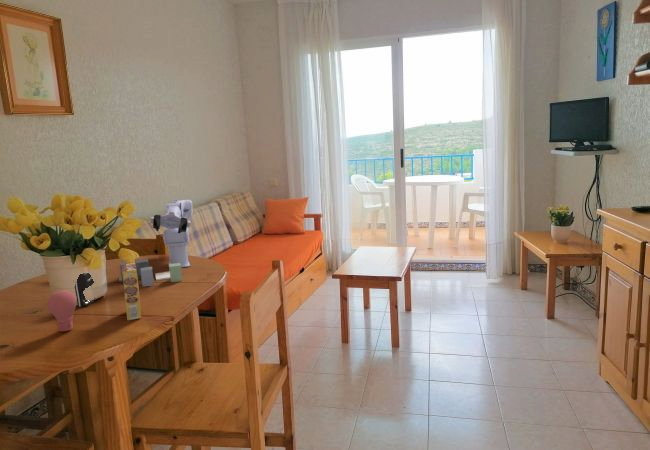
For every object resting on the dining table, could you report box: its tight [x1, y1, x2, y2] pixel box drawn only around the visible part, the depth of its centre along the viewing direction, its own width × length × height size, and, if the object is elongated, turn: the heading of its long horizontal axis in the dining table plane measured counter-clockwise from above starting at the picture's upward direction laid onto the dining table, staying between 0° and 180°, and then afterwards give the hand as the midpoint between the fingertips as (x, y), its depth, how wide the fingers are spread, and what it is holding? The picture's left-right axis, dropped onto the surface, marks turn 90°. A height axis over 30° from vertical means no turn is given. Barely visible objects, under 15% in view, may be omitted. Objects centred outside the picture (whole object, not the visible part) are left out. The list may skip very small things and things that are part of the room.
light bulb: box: [47, 289, 77, 332], centre depth 132 cm, size 7×7×12 cm
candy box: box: [122, 263, 142, 321], centre depth 142 cm, size 9×4×15 cm, turn 24°
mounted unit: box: [118, 258, 150, 284], centre depth 181 cm, size 7×12×6 cm, turn 112°
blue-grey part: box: [140, 266, 155, 288], centre depth 172 cm, size 4×4×6 cm
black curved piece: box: [74, 273, 95, 308], centre depth 154 cm, size 7×4×11 cm, turn 178°
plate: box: [154, 270, 170, 281], centre depth 182 cm, size 8×8×1 cm
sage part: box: [168, 263, 183, 283], centre depth 176 cm, size 4×4×6 cm
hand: (168, 229), depth 173 cm, fingers open, 7 cm apart
